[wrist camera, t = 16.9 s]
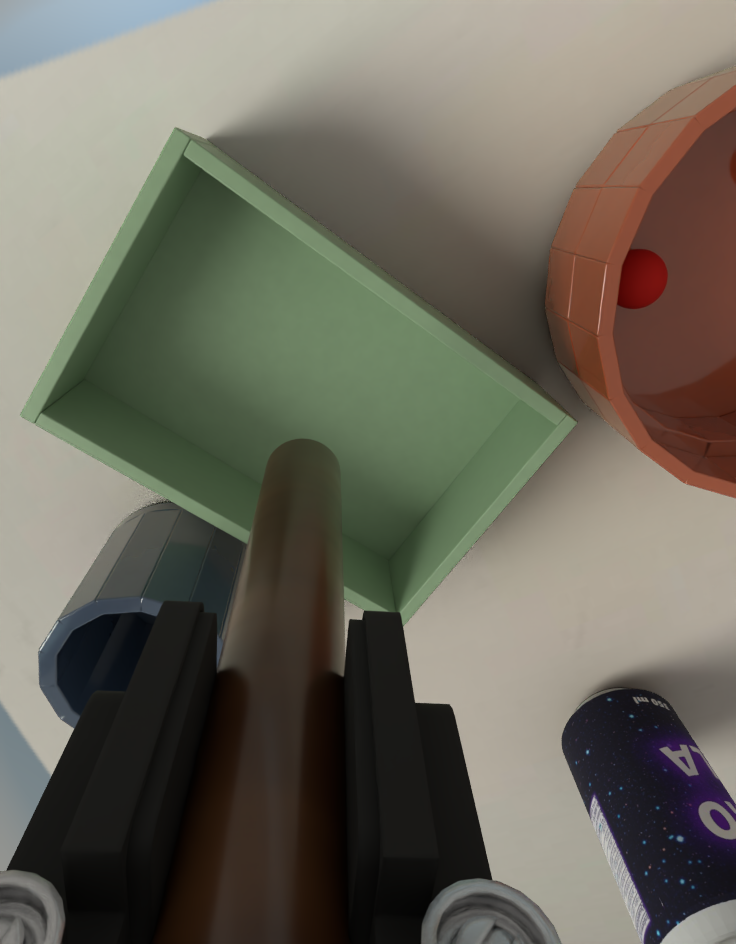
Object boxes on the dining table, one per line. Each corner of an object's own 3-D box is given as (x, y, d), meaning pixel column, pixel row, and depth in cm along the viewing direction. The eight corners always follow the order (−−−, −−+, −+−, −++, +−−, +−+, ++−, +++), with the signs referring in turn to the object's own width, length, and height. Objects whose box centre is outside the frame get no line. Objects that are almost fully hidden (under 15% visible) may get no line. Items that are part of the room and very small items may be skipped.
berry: (598, 258, 24) (589, 288, 23) (649, 226, 22) (642, 256, 21) (629, 298, 24) (622, 329, 23) (681, 270, 23) (677, 301, 22)
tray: (70, 378, 25) (18, 416, 21) (204, 137, 22) (175, 126, 18) (390, 568, 29) (399, 631, 25) (539, 385, 26) (578, 422, 22)
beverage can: (652, 763, 34) (803, 1034, 23) (546, 762, 34) (649, 1036, 23) (680, 676, 32) (861, 930, 21) (567, 674, 32) (692, 931, 21)
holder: (78, 587, 29) (4, 702, 22) (150, 472, 27) (93, 562, 20) (208, 652, 30) (175, 778, 24) (285, 549, 28) (272, 654, 22)
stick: (251, 482, 18) (39, 1241, 5) (292, 423, 17) (170, 1111, 4) (313, 518, 18) (268, 1291, 5) (355, 463, 18) (414, 1185, 5)
